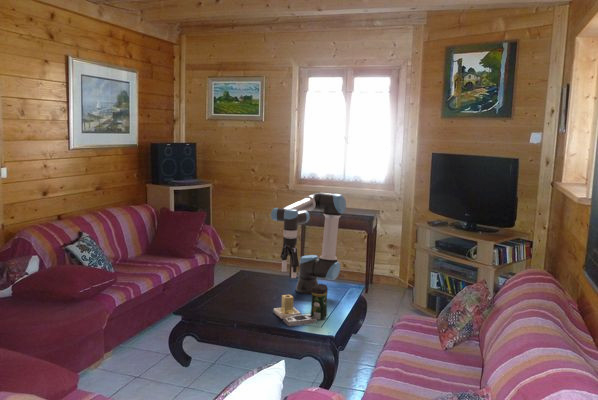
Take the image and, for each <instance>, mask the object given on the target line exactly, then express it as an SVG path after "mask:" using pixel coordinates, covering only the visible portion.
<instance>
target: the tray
mask: <svg viewBox="0 0 598 400" xmlns="http://www.w3.org/2000/svg"><path fill="white" fill-rule="evenodd" d="M273 313H274V314H275V315H276V316H277V317H279V319H281V320H283V317H286V316H295V315H302V314H301V313H302V312H300V311H299V310H298V309H296V308H295V307H294V306H293V313H292V314H282V313H281V307H276V308H275V307H273Z"/></svg>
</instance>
